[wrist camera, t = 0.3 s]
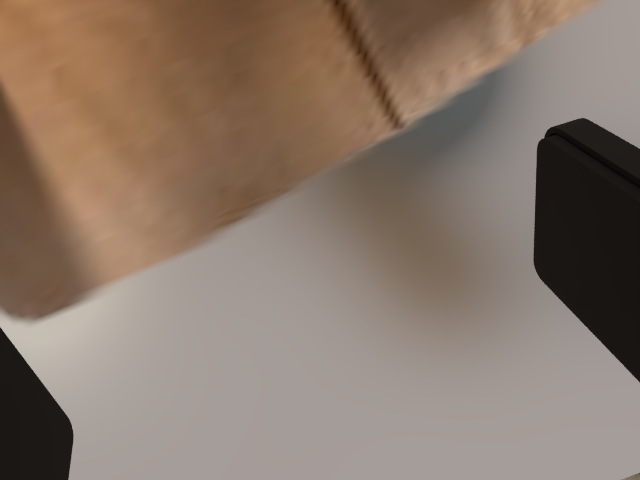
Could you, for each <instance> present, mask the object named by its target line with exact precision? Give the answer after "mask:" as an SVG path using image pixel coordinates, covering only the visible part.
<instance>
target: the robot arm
mask: <svg viewBox="0 0 640 480" xmlns="http://www.w3.org/2000/svg"><path fill="white" fill-rule="evenodd" d="M535 201H536V202H535V231H534V232H535V233H534V266H535V269H536V272H537V274H538V276H539V277H540V279H541V280H542V281H543V282H544V283H545V284H546V285H547V286H548V287H549V288H550V289H551V290H552V291H553V293H555V295H556V296H557V297H558V298H559V299H560V300H561V301H562V302H563V303H564V304H565V305H566V306H567V307H568V308H569V309H570V310H571V311H572V312H573V313H574V314H575V315H576V316H577V317H578V318H579V319H580V321H581V322H582V323H583V324H584V325H585V326H586V327H587V328H588V329H589V330H590V331H591V332H592V333H593V334H594V335H595V336H596V337H597V338H598V339H599V340H600V341H601V342H602V343H603V344H604V345H605V347H606V348H608V350H609V351H610V352H611V353H612V354H613V355H614V356H615V357H616V358H617V359H618V360H619V361H620V362H621V363H622V364H623V365H624V366H625V367H626V368H627V369H628V370H629V371H630V373H631V374H632V375H633V376H634V377H635V378H636V379H637V380H638V381H639V382H640V149H639V148H637V147H635V146H634V145H632V144H630V143H628V142H626V141H625V140H623V139H621V138H620V137H618V136H616V135H614V134H613V133H611V132H609V131H607V130H605V129H604V128H602V127H600V126H598V125H597V124H595V123H593V122H591V121H589V120H587V119H585V118H581V119H577V120H573V121H570V122H567V123H564V124H561V125H557V126H554V127H551V128H550V129H548V130H547V132H546V134H545V138H544V139H541V140H540V141H539V143H538V147H537V169H536V200H535ZM72 446H73V430H72V425H71V423H70V420H69V418H68V417H67V415H66V414H65V413H64V411H63V410H62V409H61V407H60V406H59V405H58V403H57V402H56V401H55V400H54V398H53V397H52V395H51V394H50V393H49V391H48V390H47V389H46V388H45V386H44V385H43V383H42V382H41V381H40V380H39V378H38V377H37V376H36V374H35V373H34V372H33V370H32V369H31V368H30V366H29V365H28V364H27V362H26V361H25V360H24V358H23V357H22V356H21V354H20V353H19V352H18V350H17V349H16V348H15V346H14V345H13V344H12V342H11V341H10V340H9V338H8V337H7V336H6V334H5V333H4V332H3V331H2V329H1V328H0V480H68V478H69V469H70V461H71V454H72ZM622 480H640V473H638V474H635V475H633V476H630V477H628V478H625V479H622Z"/></svg>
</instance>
